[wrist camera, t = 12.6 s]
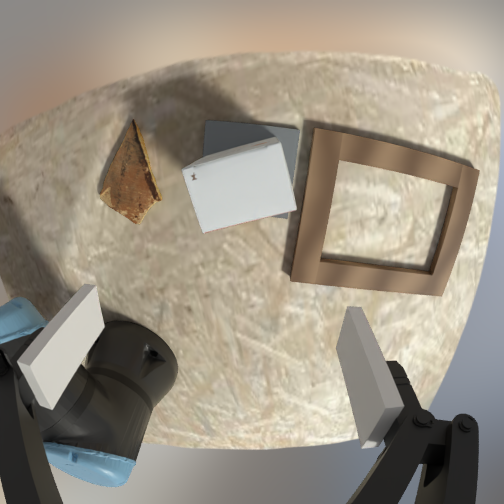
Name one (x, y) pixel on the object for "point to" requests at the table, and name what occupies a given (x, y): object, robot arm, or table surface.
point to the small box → (240, 185)
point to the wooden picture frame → (390, 158)
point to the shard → (131, 179)
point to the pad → (250, 140)
